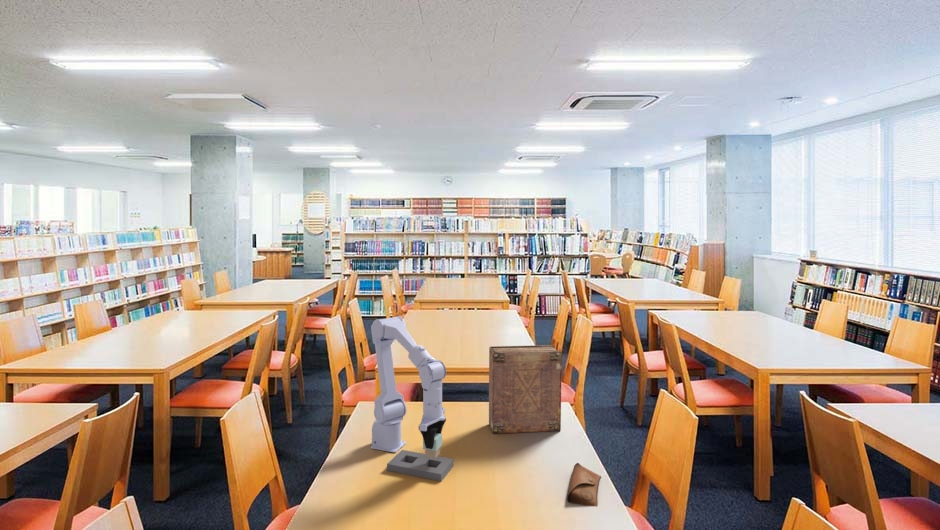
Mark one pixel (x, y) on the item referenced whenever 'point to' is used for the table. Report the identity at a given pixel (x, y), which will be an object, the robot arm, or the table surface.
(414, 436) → the table surface
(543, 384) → the book
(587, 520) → the table surface
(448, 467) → the grey peg board
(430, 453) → the plug
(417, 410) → the table surface
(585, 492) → the sunglasses case
